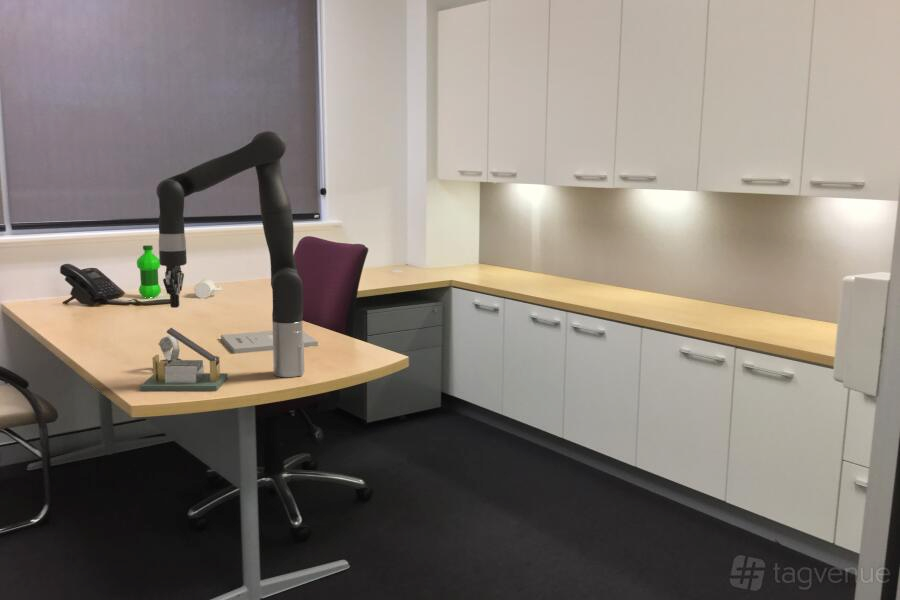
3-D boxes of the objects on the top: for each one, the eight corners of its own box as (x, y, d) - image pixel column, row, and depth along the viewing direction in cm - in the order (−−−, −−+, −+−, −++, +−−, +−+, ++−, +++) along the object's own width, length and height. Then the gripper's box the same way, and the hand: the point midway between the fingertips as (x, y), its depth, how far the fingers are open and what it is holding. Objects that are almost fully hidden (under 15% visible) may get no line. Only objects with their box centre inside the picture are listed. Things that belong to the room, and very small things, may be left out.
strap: (216, 362, 243) (219, 358, 243) (213, 365, 240) (216, 360, 239) (169, 330, 241) (172, 326, 241) (165, 333, 237) (168, 329, 237)
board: (227, 378, 250) (227, 373, 249) (216, 390, 236) (216, 386, 235) (155, 377, 249) (155, 373, 248) (140, 390, 235) (139, 385, 235)
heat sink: (204, 375, 247) (203, 359, 246) (196, 383, 238) (195, 367, 237) (174, 375, 246) (173, 359, 245) (165, 383, 237) (164, 367, 236)
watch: (174, 365, 263) (172, 332, 261) (185, 370, 258) (184, 336, 256) (157, 368, 259) (155, 335, 258) (168, 373, 254) (167, 339, 252)
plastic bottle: (157, 295, 394) (155, 244, 390) (164, 298, 386) (161, 246, 381) (136, 296, 389) (133, 245, 384) (142, 300, 380) (139, 247, 376)
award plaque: (221, 340, 302) (220, 334, 302) (299, 333, 315) (299, 328, 315) (234, 354, 281) (234, 348, 280) (317, 347, 294) (317, 341, 293)
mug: (194, 298, 387) (193, 282, 386) (199, 295, 397) (198, 279, 395) (219, 298, 388) (219, 282, 387) (223, 295, 398) (223, 279, 396)
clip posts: (220, 377, 245) (220, 354, 244) (216, 381, 240) (215, 358, 238) (158, 376, 244) (157, 354, 243) (152, 381, 239) (151, 358, 238)
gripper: (179, 251, 229) (181, 311, 232) (191, 246, 242) (194, 303, 245) (152, 251, 228) (155, 311, 231) (166, 246, 241) (168, 303, 244)
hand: (175, 307), depth 238 cm, fingers closed
